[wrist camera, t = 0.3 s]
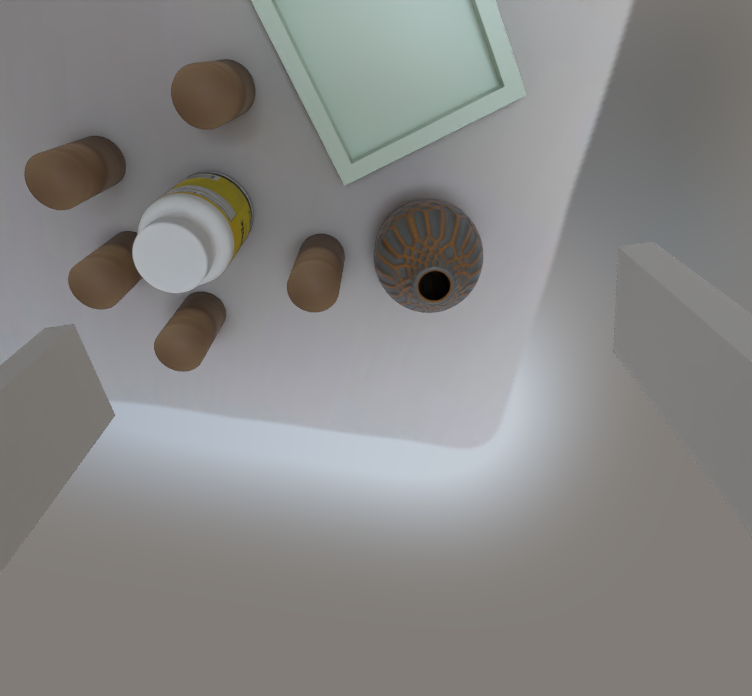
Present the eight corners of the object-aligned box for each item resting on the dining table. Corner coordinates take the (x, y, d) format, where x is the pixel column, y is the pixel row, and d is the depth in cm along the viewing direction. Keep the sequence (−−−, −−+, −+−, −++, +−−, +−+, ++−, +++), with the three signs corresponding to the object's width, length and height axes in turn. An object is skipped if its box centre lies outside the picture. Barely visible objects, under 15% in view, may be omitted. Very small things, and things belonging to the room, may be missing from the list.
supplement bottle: (225, 263, 40) (183, 324, 32) (160, 212, 39) (96, 262, 30) (271, 208, 39) (239, 256, 30) (205, 151, 37) (151, 186, 28)
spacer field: (41, 163, 37) (-15, 184, 32) (237, 49, 34) (210, 50, 29) (177, 347, 44) (149, 389, 38) (352, 265, 40) (348, 299, 35)
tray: (249, -14, 32) (241, -18, 31) (444, -133, 30) (447, -144, 28) (346, 178, 38) (344, 185, 36) (519, 92, 35) (526, 95, 33)
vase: (401, 300, 42) (405, 358, 34) (357, 217, 39) (351, 261, 31) (489, 259, 40) (514, 311, 32) (449, 170, 37) (467, 204, 30)
